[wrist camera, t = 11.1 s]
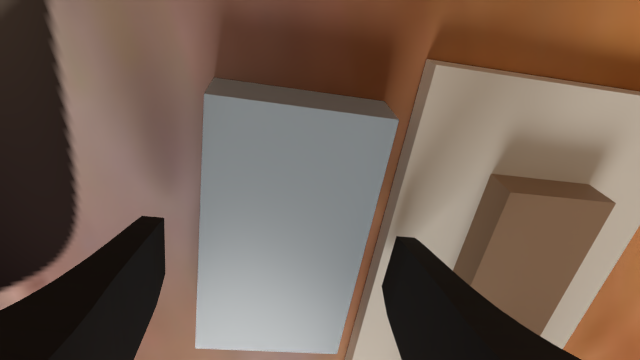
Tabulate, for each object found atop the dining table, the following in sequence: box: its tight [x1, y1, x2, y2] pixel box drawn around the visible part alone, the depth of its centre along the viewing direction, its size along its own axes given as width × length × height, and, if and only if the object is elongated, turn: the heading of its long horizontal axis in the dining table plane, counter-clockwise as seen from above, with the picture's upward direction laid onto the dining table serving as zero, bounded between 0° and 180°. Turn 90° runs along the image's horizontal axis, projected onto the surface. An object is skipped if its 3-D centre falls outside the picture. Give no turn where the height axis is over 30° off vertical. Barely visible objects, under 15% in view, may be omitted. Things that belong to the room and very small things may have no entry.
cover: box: [195, 78, 399, 354], centre depth 13 cm, size 5×9×2 cm, turn 170°
